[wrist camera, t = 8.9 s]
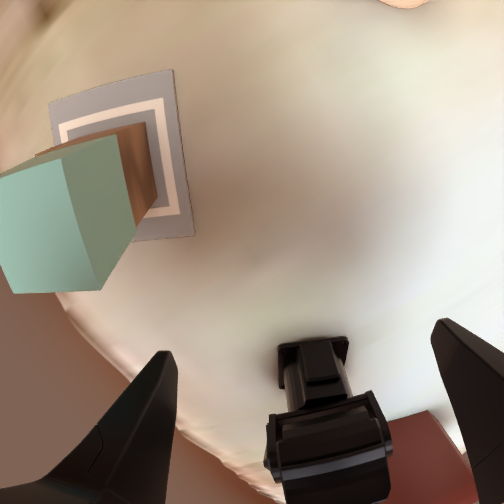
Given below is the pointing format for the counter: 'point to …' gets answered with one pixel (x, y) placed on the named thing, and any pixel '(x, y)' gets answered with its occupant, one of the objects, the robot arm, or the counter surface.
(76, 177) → the teal block
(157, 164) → the mat
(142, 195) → the walnut block
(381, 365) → the counter surface
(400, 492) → the bucket
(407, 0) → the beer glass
